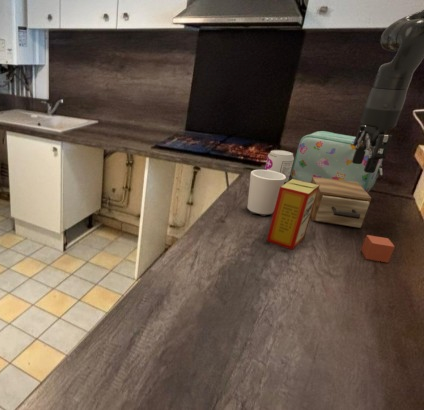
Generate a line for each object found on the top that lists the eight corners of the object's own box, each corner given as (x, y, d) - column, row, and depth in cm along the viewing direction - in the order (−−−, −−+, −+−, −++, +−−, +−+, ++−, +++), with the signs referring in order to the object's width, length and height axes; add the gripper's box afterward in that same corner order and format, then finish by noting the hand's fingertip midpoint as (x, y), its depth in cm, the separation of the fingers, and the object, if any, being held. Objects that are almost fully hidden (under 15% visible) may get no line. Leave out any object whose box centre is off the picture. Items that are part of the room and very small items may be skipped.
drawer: (365, 234, 99) (375, 209, 96) (318, 227, 103) (326, 202, 100) (349, 210, 115) (356, 187, 112) (308, 204, 119) (315, 182, 116)
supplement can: (261, 194, 129) (270, 154, 123) (259, 187, 136) (267, 148, 130) (286, 198, 126) (296, 156, 120) (282, 190, 133) (292, 151, 127)
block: (382, 254, 92) (388, 238, 90) (388, 263, 88) (395, 246, 86) (360, 250, 93) (366, 234, 92) (365, 258, 89) (372, 242, 88)
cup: (247, 203, 121) (254, 167, 116) (278, 210, 116) (288, 173, 111) (239, 213, 114) (247, 175, 109) (273, 221, 109) (283, 182, 103)
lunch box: (376, 198, 127) (398, 139, 118) (363, 204, 122) (386, 142, 113) (299, 177, 147) (313, 125, 139) (286, 182, 142) (300, 128, 133)
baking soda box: (292, 249, 93) (308, 192, 87) (266, 240, 97) (280, 185, 91) (304, 237, 99) (320, 183, 93) (279, 229, 104) (293, 177, 97)
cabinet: (360, 228, 105) (371, 198, 101) (311, 220, 110) (320, 191, 106) (348, 209, 118) (357, 182, 114) (304, 203, 122) (312, 176, 118)
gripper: (415, 112, 84) (390, 177, 91) (387, 104, 97) (367, 162, 103) (377, 110, 86) (356, 174, 93) (355, 102, 99) (338, 159, 105)
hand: (362, 167), depth 98 cm, fingers open, 8 cm apart
